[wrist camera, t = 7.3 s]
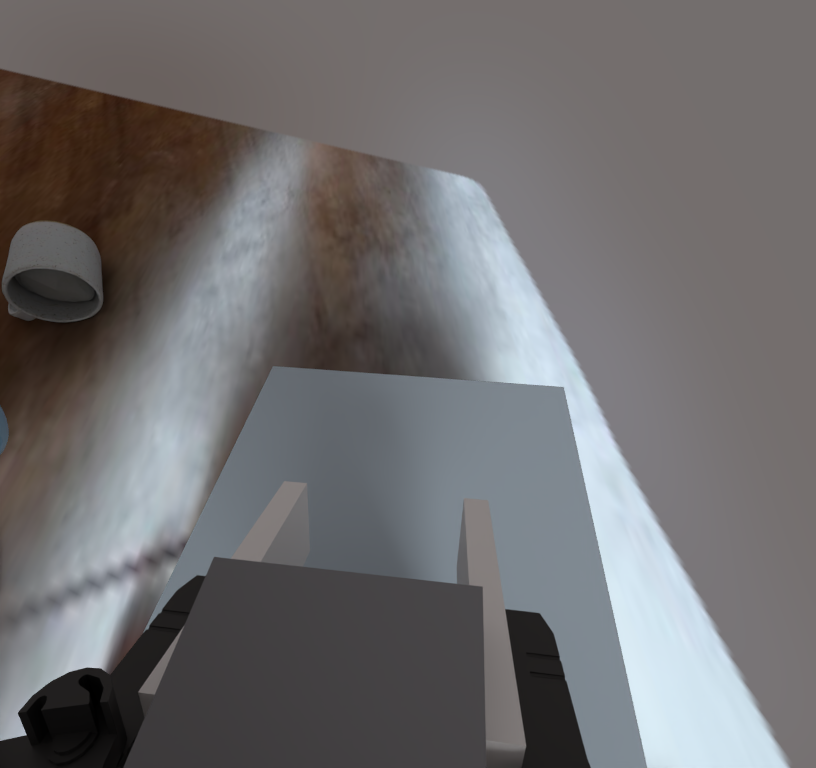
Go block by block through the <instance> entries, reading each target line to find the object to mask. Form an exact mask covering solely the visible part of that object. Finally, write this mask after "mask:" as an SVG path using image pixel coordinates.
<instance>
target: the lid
mask: <svg viewBox="0 0 816 768" xmlns="http://www.w3.org/2000/svg"><path fill="white" fill-rule="evenodd" d="M284 481H289V482H300V483H307V492H308V515H309V538H310V552H309V554H308V557H307V559H306V561H305V563H304V566H303V567H301V566H292V565H283V564H274V563H265V562H256V561H247V560H238V559H231V557H232V556H233V554H234V553H235V552H236V550H237V549H238V547H239V546H240V544H241V543H242V541H243V540H244V539H245V537H246V536H247V534H248V533H249V531H250V530H251V528H252V527H253V526H254V524H255V523H256V521H257V520H258V518H259V517H260V515H261V514H262V513H263V511H264V510H265V508H266V507H267V505H268V504H269V502H270V501H271V500H272V498H273V497H274V495H275V494H276V492H277V491H278V489H279V488H280V487H281V485H282V484H283V482H284ZM464 498H469V499H480V500H488V502H489V508H490V515H491V521H492V528H493V534H494V541H495V547H496V554H497V560H498V567H499V573H500V580H501V586H502V593H503V599H504V606H505V609H510V610H518V611H527V612H536V613H540V614H541V616H542V617H543V619H544V620H545V621H546V623H547V624H548V626H549V627H550V629H551V630H552V632H553V633H554V637H555V640H556V644H557V648H558V651H559V655H560V661H561V662H562V666H563V670H564V674H565V681H567V685H568V688H569V692H570V696H571V700H572V703H573V707H574V711H575V714H576V718H577V722H578V726H579V729H580V733H581V737H582V740H583V744H584V748H585V752H586V755H587V759H588V762H589V764H590V767H591V768H647V765H646V761H645V756H644V751H643V747H642V742H641V738H640V733H639V729H638V724H637V720H636V715H635V710H634V706H633V701H632V697H631V692H630V688H629V683H628V678H627V674H626V669H625V665H624V660H623V656H622V651H621V647H620V642H619V637H618V633H617V628H616V624H615V619H614V615H613V610H612V605H611V601H610V596H609V592H608V587H607V583H606V578H605V574H604V569H603V564H602V560H601V555H600V551H599V546H598V542H597V537H596V533H595V528H594V523H593V519H592V514H591V510H590V505H589V501H588V496H587V491H586V487H585V482H584V478H583V473H582V469H581V464H580V460H579V455H578V450H577V446H576V441H575V437H574V432H573V428H572V423H571V418H570V414H569V409H568V405H567V400H566V396H565V391H564V387H555V386H541V385H527V384H513V383H500V382H486V381H472V380H458V379H444V378H431V377H417V376H403V375H389V374H375V373H361V372H348V371H334V370H320V369H306V368H292V367H278V366H273V367H272V369H271V371H270V373H269V376H268V378H267V380H266V382H265V384H264V386H263V388H262V390H261V392H260V394H259V396H258V398H257V400H256V402H255V404H254V406H253V408H252V410H251V413H250V415H249V417H248V419H247V421H246V423H245V425H244V427H243V429H242V431H241V433H240V435H239V437H238V439H237V441H236V443H235V445H234V447H233V450H232V452H231V454H230V456H229V458H228V460H227V462H226V464H225V466H224V468H223V470H222V472H221V474H220V476H219V478H218V480H217V482H216V484H215V487H214V489H213V491H212V493H211V495H210V497H209V499H208V501H207V503H206V505H205V507H204V509H203V511H202V513H201V515H200V517H199V519H198V521H197V524H196V526H195V528H194V530H193V532H192V534H191V536H190V538H189V540H188V542H187V544H186V546H185V548H184V550H183V552H182V554H181V556H180V558H179V560H178V563H177V565H176V567H175V569H174V571H173V573H172V575H171V577H170V579H169V581H168V583H167V585H166V587H165V589H164V591H163V593H162V595H161V597H160V600H159V602H158V604H157V606H156V608H155V610H154V612H153V614H152V616H151V618H150V620H149V622H148V624H147V626H146V628H145V630H146V629H147V630H148V629H149V625H150V624H151V623H152V621H153V620H154V619H155V618H156V616H157V615H158V614H159V613H161V612H162V609H163V607H164V606H165V605H166V604H167V602H168V601H169V600H170V598H171V597H172V596H173V595H174V593H175V592H176V591H177V590H178V589H179V588H181V587H182V586H183V585H185V584H186V583H187V582H189V581H190V580H191V579H193V578H194V577H195V576H197V575H201V576H205V579H204V581H203V583H202V586H201V588H200V590H199V593H198V595H197V597H196V600H195V602H194V604H193V607H192V609H191V611H190V614H189V616H188V618H187V621H186V623H185V625H184V628H183V630H182V632H181V635H180V637H179V639H178V642H177V644H176V646H175V649H174V651H173V653H172V656H171V658H170V660H169V662H168V665H167V667H166V669H165V672H164V674H163V676H162V679H161V681H160V683H159V686H158V688H157V690H156V693H155V695H154V697H153V700H152V702H151V704H150V707H149V709H148V711H147V714H146V716H145V718H144V721H143V723H142V725H141V728H140V730H139V732H138V735H137V737H136V739H135V742H134V744H133V746H132V749H131V751H130V753H129V756H128V758H127V760H126V762H125V765H124V767H123V768H486V724H485V674H484V625H483V587H482V586H473V585H464V584H457V558H458V548H459V539H460V530H461V521H462V511H463V502H464ZM145 630H144V632H145ZM144 632H143V633H144Z"/></svg>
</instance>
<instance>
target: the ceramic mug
mask: <svg viewBox="0 0 816 768" xmlns="http://www.w3.org/2000/svg"><path fill="white" fill-rule="evenodd" d="M2 292H3V294H4V296H5V298H6V300H7V301H8V302H9V305H8V312H9V314H11V315H12V316H14V317H18V318H20V319H23V320H27V321H31V320H34V319H35V318H38V319H41V320H45V321H51V322H76V321H81V320H84V319H87V318H90V317H92V316H94V315H95V314H96V313H97V312H98V311H99V310H100V309H101V307H102V304H103V288H102V272H101V258H100V254H99V251H98V249H97V247H96V245H95V243H94V242H93V241H92V239H91V238H90V237H89V236H87V235H86V234H85V233H84V232H82V231H81V230H79V229H77V228H75V227H73V226H70V225H68V224H64V223H61V222H57V221H49V220H48V221H35V222H31V223H28V224H26V225H24V226H23V227H21V228H20V229H19V230H18V231H17V233H16V234H15V236H14V238H13V239H12V242H11V245H10V250H9V256H8V260H7V264H6V268H5V272H4V275H3V279H2Z"/></svg>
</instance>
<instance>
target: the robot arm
mask: <svg viewBox="0 0 816 768" xmlns="http://www.w3.org/2000/svg"><path fill="white" fill-rule="evenodd" d="M8 435H9V429H8V423H7V419H6V416H5V414H4V412H3V410H2V408H1V406H0V455H1V453H2V452H3V450H4V449H5V447H6V444H7V441H8ZM309 552H310V538H309V515H308V492H307V483H300V482H289V481H284V482H283V484H282V485H281V487H280V488H279V489H278V491H277V492H276V494H275V495H274V497H273V498H272V500H271V501H270V502H269V504H268V505H267V507H266V508H265V510H264V511H263V513H262V514H261V515H260V517H259V518H258V520H257V521H256V523H255V524H254V526H253V527H252V528H251V530H250V531H249V533H248V534H247V536H246V537H245V539H244V540H243V541H242V543H241V544H240V546H239V547H238V549H237V550H236V552H235V553H234V554H233V556H232V557H231V559H238V560H247V561H256V562H265V563H274V564H283V565H292V566H301V567H303V566H304V563H305V561H306V559H307V557H308V554H309ZM204 579H205V576H201V575H197V576H195V577H194V578H193V579H191V580H190V581H189V582H187V583H186V584H185V585H183V586H182V587H181V588H179V589H178V590H177V591H176V592H175V593H174V595H173V596H172V597H171V598H170V600H169V601H168V602H167V604H166V605H165V606H164V607H163V609H162V612H161V613H159V614H158V615H157V616H156V618H155V619H154V620H153V621H152V623H151V624H150V625H149V629H148V630H147V629H146V630H145V632H144V633H143V634H142V635H141V637H140V638H139V639H138V640H137V642H136V643H135V644H134V646H133V647H132V648H131V649H130V651H129V652H128V653H127V654H126V656H125V657H124V658H123V660H122V661H121V662H120V663H119V665H118V666H117V667H116V669H115V670H114V671H113V672H112V674H111V675H109V674H108V673H106V672H105V671H103V670H102V669H99V668H84V669H80V670H76V671H72V672H69V673H67V674H65V675H63V676H61V677H59V678H57V679H55V680H53V681H51V682H50V683H48V684H47V685H46V686H45V687H43V688H42V689H41V690H40V691H38V692H37V693H36V694H34V695H33V696H32V697H31V698H30V699H29V701H28V702H27V703H26V704H25V705H24V706H23V708H22V709H21V710H20V711H19V712H18V715H19V717H20V719H21V722H22V724H23V727H24V729H25V732H26V734H27V735H26V736H21V737H17V738H12V739H7V740H3V741H0V768H123V767H124V765H125V762H126V760H127V758H128V756H129V753H130V751H131V749H132V746H133V744H134V742H135V739H136V737H137V735H138V732H139V730H140V728H141V725H142V723H143V721H144V718H145V716H146V714H147V711H148V709H149V707H150V704H151V702H152V700H153V697H154V695H155V693H156V690H157V688H158V686H159V683H160V681H161V679H162V676H163V674H164V672H165V669H166V667H167V665H168V662H169V660H170V658H171V656H172V653H173V651H174V649H175V646H176V644H177V642H178V639H179V637H180V635H181V632H182V630H183V628H184V625H185V623H186V621H187V618H188V616H189V614H190V611H191V609H192V607H193V604H194V602H195V600H196V597H197V595H198V593H199V590H200V588H201V586H202V583H203V581H204ZM457 584H464V585H473V586H482V587H483V625H484V674H485V724H486V768H591V767H590V764H589V762H588V759H587V755H586V752H585V748H584V744H583V740H582V737H581V733H580V729H579V726H578V722H577V718H576V714H575V711H574V707H573V703H572V700H571V696H570V692H569V688H568V685H567V681H565V674H564V670H563V666H562V662H561V661H560V655H559V651H558V648H557V644H556V640H555V637H554V633H553V632H552V630H551V629H550V627H549V626H548V624H547V623H546V621H545V620H544V619H543V617H542V616H541V614H540V613H536V612H527V611H518V610H510V609H505V606H504V599H503V593H502V586H501V580H500V573H499V567H498V560H497V554H496V547H495V541H494V534H493V528H492V521H491V515H490V508H489V502H488V500H480V499H469V498H464V502H463V511H462V521H461V530H460V539H459V548H458V558H457Z"/></svg>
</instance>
